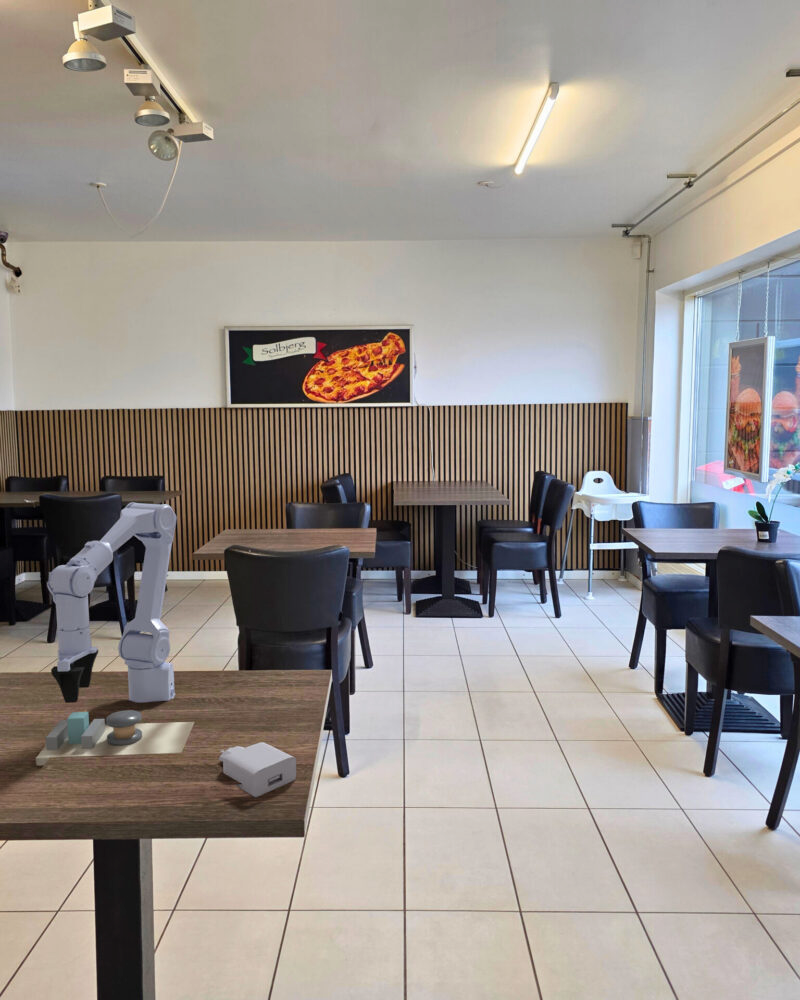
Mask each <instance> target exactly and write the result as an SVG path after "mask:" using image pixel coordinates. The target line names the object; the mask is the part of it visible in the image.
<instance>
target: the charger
mask: <svg viewBox="0 0 800 1000" xmlns="http://www.w3.org/2000/svg"><path fill="white" fill-rule="evenodd" d="M220 753H221V754H220V756H219V757H218V760H219V761H221V762H222V766H223V767H222V768H223V774H224V775H226V776H228V777H229V778H232V779H233V780H235V781H236V782H238V784H234V786H235V787H237V788H239V789H240V790H242V791H244V792H246V793H247V794H249V795H250V796H252V797H254V798H258V797H259V796H262V795H265V794H267V793H268V792H271V791H274V790H275V789H278V788H280V787H282V786H285V785H287V784H289V783H292V782H293V781H295V779H296V777H297V758H296V757H294V756H292V755H290V754H288V753H286V752H284V751H282V750H280V749H279V748H276V747H274V746H272V745H270V744H268V743H266V742H264V741H263V742H260V741H259V742H258V743H254V744H251V745H249V746H247V747H244V746H239V745H237V746H233V747H228V748H227V749H226V750H225V751H224V750H220ZM240 783H241V784H240Z"/></svg>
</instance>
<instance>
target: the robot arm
mask: <svg viewBox="0 0 800 1000" xmlns="http://www.w3.org/2000/svg"><path fill="white" fill-rule="evenodd" d="M119 516H120V517H119V519H118V520H117V521H116V522H115V523H114V524H113V526H112V527H111V528H110V529H109V530H108V531H107V532H106V533H105V534H104V536H103V537H102V538H101V539H100V540H91V541H87V542H86V543H85V544H84V547H83V548H82V549H81V550H80V551H79V552H78V553H76V554H75V555H74V556H72V558H70V559H69V561H68V562H67V563H66V564H61V565H58V566H56V567H55V568H54V569H52V570H51V572H50V574H49V577H48V581H46V587H47V590H48V591H49V592H50V593H51V595H52V601H53V602H54V604H55V608H56V609H55V610H56V624H57V627H56V628H57V629H56V630H57V641H58V644H57V645H58V649H57V657H58V660H57V662H56V665H54V666H53V667H52V668H51V669H50V672H51V675H52V677H53V678H54V679H55V680H56V682H57V684H58V687H59V688H60V691H61V694H62V697H63V700H64V703H65V704H70V703H71V704H73V703H74V704H75V703H77V702H78V700H79V695H80V689H82V688H86V689H87V688H89V687H90V684H91V679H92V674H93V667H94V664H95V662H96V658H97V656H98V654H99V649H98V646H92V637H91V632H90V631H91V630H90V629H91V628H90V612H89V611H90V610H89V594H91V593H92V591H93V589H94V586H95V583H96V581H97V579H98V576H99V575H100V574H101V573H102V572H103V571H104V570H105V569H106V568H107V567H108V566H109V565H110V564H111V563H112V562H113V560H114V552H116V551H117V550H118V549H119V548H120V547H122V545H124V544H125V543H126V542H127V541H129V540H130V539H131V538H132V537H133V536H134V537H136V538H137V539H138V540H139V541H141V542H142V544H143V546H144V547H145V550H144V551H145V552H144V558H143V559H144V560H143V565H142V572H141V578H140V583H139V584H140V585H139V589H138V590H139V591H138V597H137V602H136V610H135V616H134V618H133V619H132V620H131V621H129V622H128V623H127V624H125V625H124V629H123V633H122V635H121V638H120V639H119V641H118V647H117V648H118V655H119V657H120V658H121V659H122V660H124V665H126V666H127V679H128V701H131V702H133V703H151V702H161V701H162V702H166V701H167V702H169V701H170V700H173V699H174V698H175V696H176V693H175V692H176V691H175V671H174V669H175V668H174V664H173V663H172V662H166V660H167V659H168V658H169V655H170V652H171V644H170V629H169V628H168V627H167V626H166V625H165V624H164V623H163V622H162V620H161V617H162V611H163V605H164V597H165V593H166V592H165V591H166V585H167V578H168V573H169V565H170V557H171V551H172V547H173V546H172V544H173V542H174V538H175V530H176V525H177V515H176V513H175V512H174V510H173V508H172V506H170V505H169V504H168V503H165V504H164V503H162V504H157V503H156V504H155V503H138V502H133V501H132V502H129V503H127V505H125V507H124V508H123V509H121V511H120V515H119ZM145 632H146V633H145ZM149 633H150V634H149Z"/></svg>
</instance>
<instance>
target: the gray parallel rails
mask: <svg viewBox="0 0 800 1000" xmlns="http://www.w3.org/2000/svg"><path fill="white" fill-rule="evenodd" d="M105 721H106V719H105V718H94V719H93V720H92V721H91V722H90V723H89V727H88V728H87V729H86V731H85V732H84V733H83V735H82V736H81V742H82V749H93V748H94V746H95V745H96V743H97V742H98V741H99V739H100V738H101V736H102V735H103V733H104V732H105V725H106V722H105ZM67 737H68V723H67V719H61V720H59V721H58V723H56V725H55V726H54V727H53V728H52V729H51V731H50V732H49V733H48V735H47V736H46V737H45V746H46V750H58V749H59V747H60V746H61V745H62V744H63V742H64V741H65V740H66V739H67Z"/></svg>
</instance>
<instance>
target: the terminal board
mask: <svg viewBox="0 0 800 1000" xmlns="http://www.w3.org/2000/svg"><path fill="white" fill-rule="evenodd" d="M194 724H195V721H182V722H181V721H176V722H175V721H174V722H150V723H148V722H147V723H146V722H145V723H137V724H135V728H137V729H140V730H141V731H142V738H141V740H139V741H138V742H136V743H133V744H130V745H125V746H114V745H110V744H108V742H107V735H108V734H109V733H111V732H113V727H110V726H108V725H107V724H105V732H104V733H103V735H102V736H101V738H100V739H99V741H98V742H97V743H96V745H95V746H94V748H93V749H82V743H80V744H69V741H68V737H67V739H66V740H65V741H64V742H63V744H62V745H61V746H60V747H59V749H58V750H46V745H45V746H44V747H43V749H42V750H41V751H40V752H39V754H37V756H36V757H35V763H36V766H45V765H46V764H47V762H48V761H49V759H51V758H72V757H73V758H74V757H75V758H76V757H100V756H101V757H103V756H127V755H128V756H129V755H130V756H131V755H133V756H134V755H155V754H157V755H158V754H159V755H161V754H163V755H164V754H182V752H183V749H184V747H185V745H186V744H187V740H188V738H189V736H190V733H191V731H192V729H193V726H194Z"/></svg>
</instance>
